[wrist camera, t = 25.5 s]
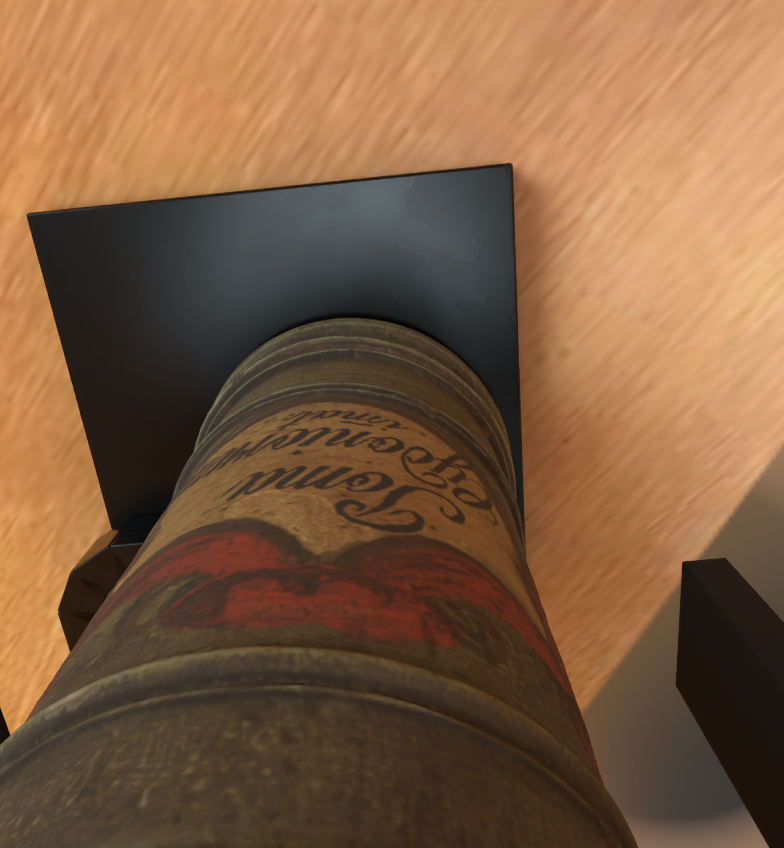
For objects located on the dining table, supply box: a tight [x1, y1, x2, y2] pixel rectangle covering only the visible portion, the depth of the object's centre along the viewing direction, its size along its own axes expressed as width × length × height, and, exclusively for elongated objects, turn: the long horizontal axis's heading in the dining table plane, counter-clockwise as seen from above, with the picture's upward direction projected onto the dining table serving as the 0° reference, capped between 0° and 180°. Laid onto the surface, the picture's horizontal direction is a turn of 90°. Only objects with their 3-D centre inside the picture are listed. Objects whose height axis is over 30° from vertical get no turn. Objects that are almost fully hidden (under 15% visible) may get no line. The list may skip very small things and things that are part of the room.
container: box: [0, 318, 638, 848], centre depth 12 cm, size 9×9×18 cm
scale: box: [27, 163, 526, 652], centre depth 20 cm, size 15×14×3 cm
